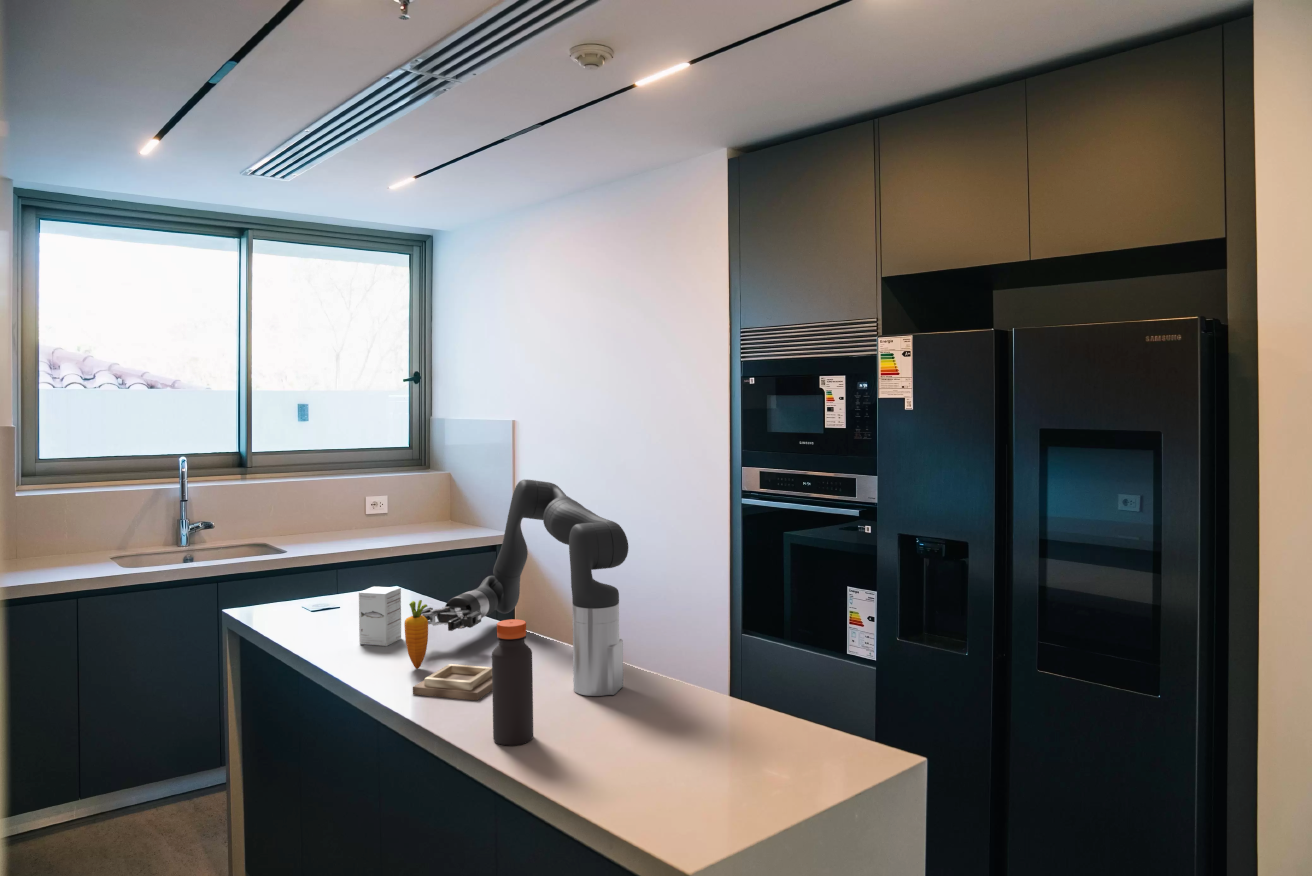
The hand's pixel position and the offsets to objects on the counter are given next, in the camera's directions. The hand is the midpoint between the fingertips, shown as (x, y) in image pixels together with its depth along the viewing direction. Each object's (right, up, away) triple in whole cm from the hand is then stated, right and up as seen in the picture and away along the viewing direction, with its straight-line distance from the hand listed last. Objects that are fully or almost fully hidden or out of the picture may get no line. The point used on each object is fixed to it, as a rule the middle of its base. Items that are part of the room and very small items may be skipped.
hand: (432, 625), depth 199 cm
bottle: (+25, -10, -46) cm, 53 cm away
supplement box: (-16, -8, +16) cm, 24 cm away
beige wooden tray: (+10, -9, -18) cm, 23 cm away
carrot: (-2, -8, -6) cm, 10 cm away
